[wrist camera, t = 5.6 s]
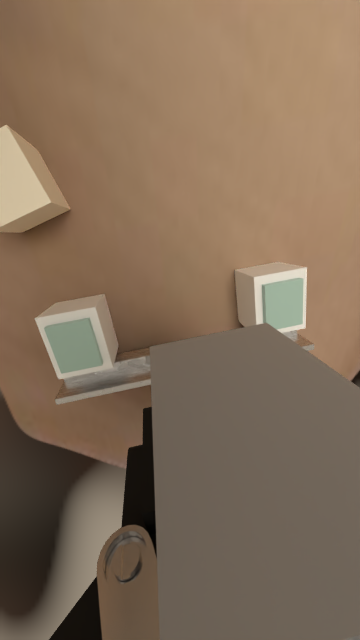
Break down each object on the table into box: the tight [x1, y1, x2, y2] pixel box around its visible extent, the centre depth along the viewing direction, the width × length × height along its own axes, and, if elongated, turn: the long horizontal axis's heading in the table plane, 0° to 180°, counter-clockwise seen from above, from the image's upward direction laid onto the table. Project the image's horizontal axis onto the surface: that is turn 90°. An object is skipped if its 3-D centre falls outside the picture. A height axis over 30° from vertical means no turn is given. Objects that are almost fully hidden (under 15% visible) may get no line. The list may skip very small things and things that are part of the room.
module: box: [150, 323, 360, 640], centre depth 7 cm, size 7×5×8 cm
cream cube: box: [0, 125, 70, 233], centre depth 19 cm, size 5×5×5 cm
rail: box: [55, 330, 314, 405], centre depth 26 cm, size 2×26×5 cm, turn 100°
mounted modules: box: [35, 262, 307, 379], centre depth 24 cm, size 6×24×6 cm, turn 100°
